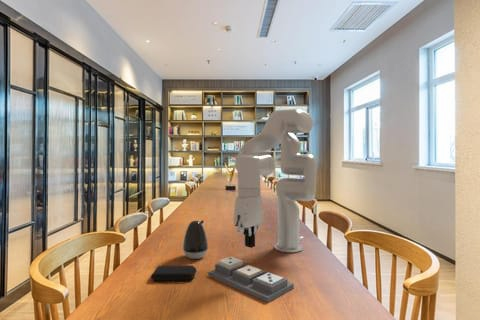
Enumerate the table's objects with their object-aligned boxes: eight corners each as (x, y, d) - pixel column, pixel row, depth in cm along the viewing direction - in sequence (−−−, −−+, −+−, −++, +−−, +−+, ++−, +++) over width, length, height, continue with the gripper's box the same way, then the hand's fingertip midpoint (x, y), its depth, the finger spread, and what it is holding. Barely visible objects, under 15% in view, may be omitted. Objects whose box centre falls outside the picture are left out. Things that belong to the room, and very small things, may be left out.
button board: (234, 265, 116) (234, 256, 116) (293, 288, 98) (293, 277, 97) (208, 275, 107) (208, 266, 107) (267, 302, 88) (267, 290, 88)
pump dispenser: (213, 255, 128) (212, 219, 128) (197, 263, 119) (197, 224, 119) (194, 251, 133) (193, 216, 133) (177, 258, 124) (177, 221, 124)
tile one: (248, 270, 107) (248, 264, 106) (261, 275, 102) (261, 269, 102) (236, 275, 102) (236, 269, 102) (249, 281, 98) (249, 274, 98)
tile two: (230, 261, 113) (230, 255, 113) (242, 266, 109) (242, 259, 109) (218, 266, 109) (218, 260, 108) (230, 270, 104) (230, 264, 104)
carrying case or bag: (197, 270, 113) (157, 271, 113) (197, 262, 113) (157, 262, 112) (193, 283, 102) (149, 283, 102) (193, 274, 102) (149, 274, 102)
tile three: (268, 278, 100) (268, 271, 100) (283, 284, 96) (283, 277, 96) (256, 284, 96) (256, 277, 96) (271, 290, 92) (271, 283, 92)
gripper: (255, 188, 109) (256, 238, 111) (225, 194, 99) (226, 249, 100) (272, 190, 104) (272, 243, 105) (241, 196, 94) (242, 255, 95)
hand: (250, 246), depth 103 cm, fingers closed
